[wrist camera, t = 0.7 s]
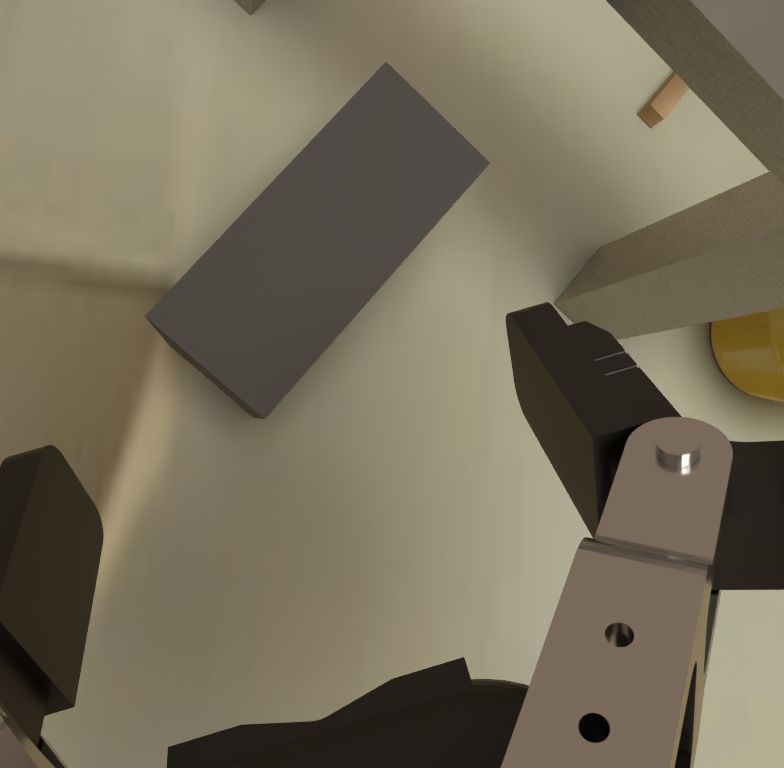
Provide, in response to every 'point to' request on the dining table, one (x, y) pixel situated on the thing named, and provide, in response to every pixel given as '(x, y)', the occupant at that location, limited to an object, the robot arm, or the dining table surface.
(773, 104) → the grey metal arch
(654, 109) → the bay
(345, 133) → the dark grey box
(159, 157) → the dining table surface
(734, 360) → the plant pot
